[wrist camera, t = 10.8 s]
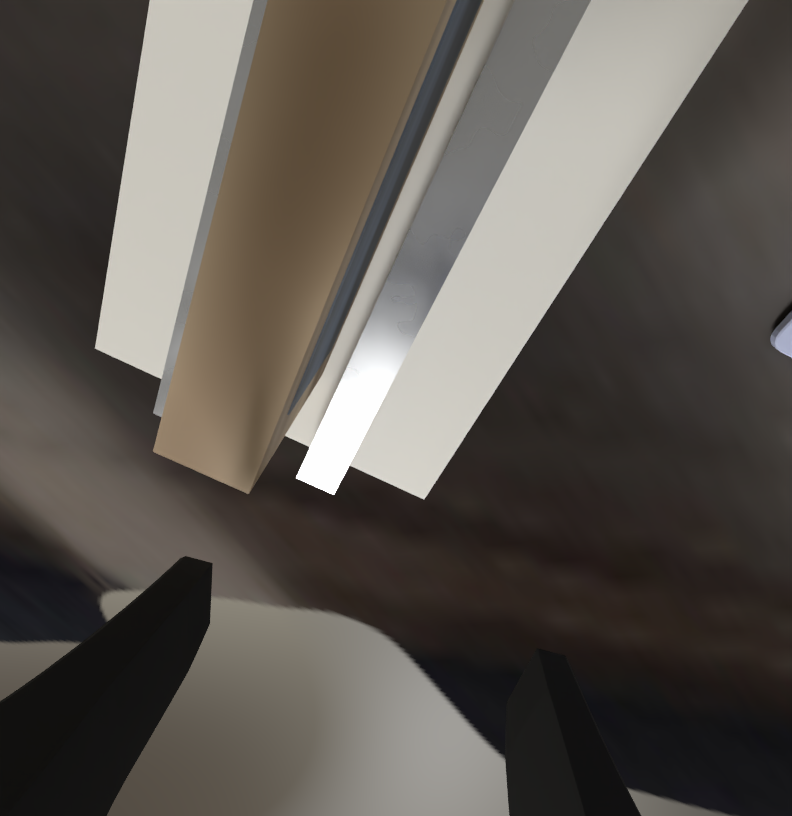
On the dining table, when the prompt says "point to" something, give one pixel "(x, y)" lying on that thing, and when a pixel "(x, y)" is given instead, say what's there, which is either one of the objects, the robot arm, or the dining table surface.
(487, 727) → the dining table surface
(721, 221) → the dining table surface
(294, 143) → the tan wooden frame
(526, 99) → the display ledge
